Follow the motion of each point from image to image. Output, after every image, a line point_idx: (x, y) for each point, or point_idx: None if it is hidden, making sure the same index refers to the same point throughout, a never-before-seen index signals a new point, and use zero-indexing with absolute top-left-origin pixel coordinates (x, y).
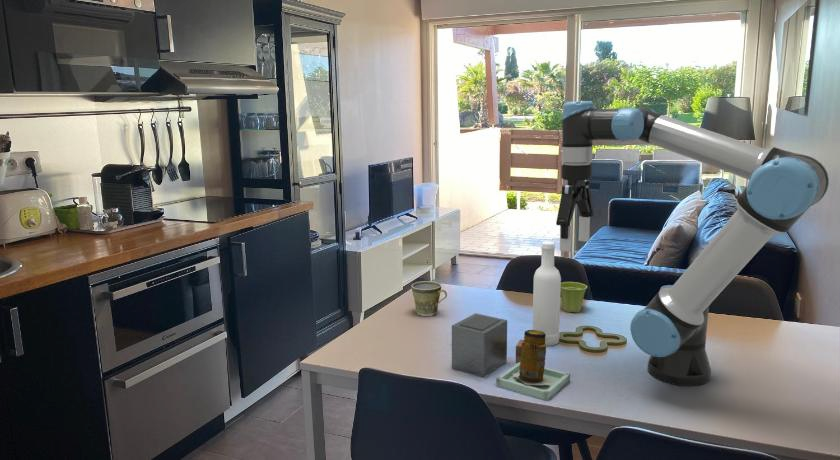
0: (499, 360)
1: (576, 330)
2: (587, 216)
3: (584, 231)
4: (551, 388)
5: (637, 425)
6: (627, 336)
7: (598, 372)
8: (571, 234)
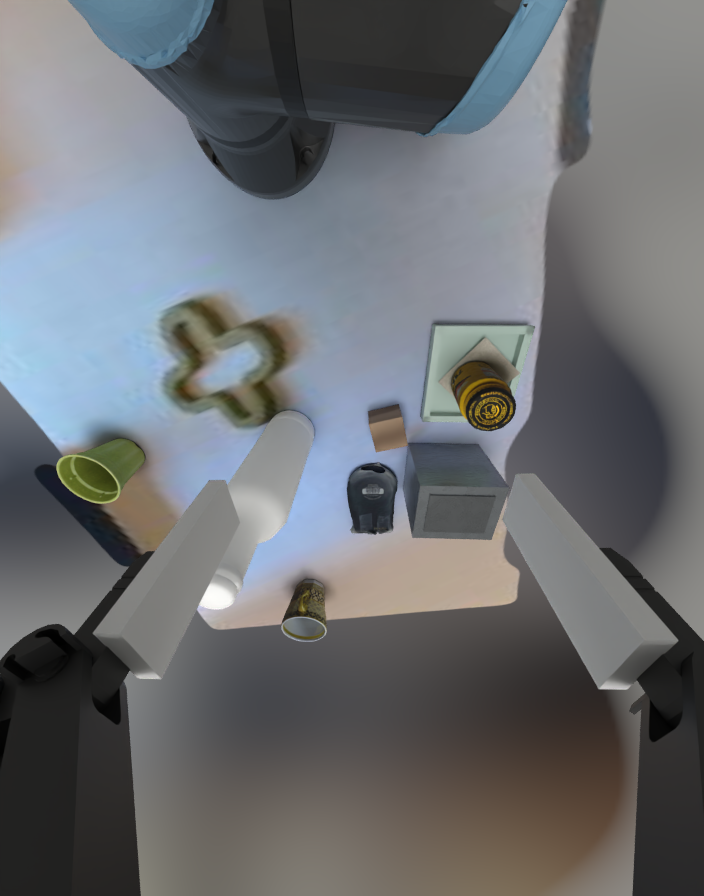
0: (433, 448)
1: (208, 408)
2: (101, 651)
3: (204, 544)
4: (513, 329)
5: (583, 100)
6: (155, 311)
7: (366, 292)
8: (584, 558)
